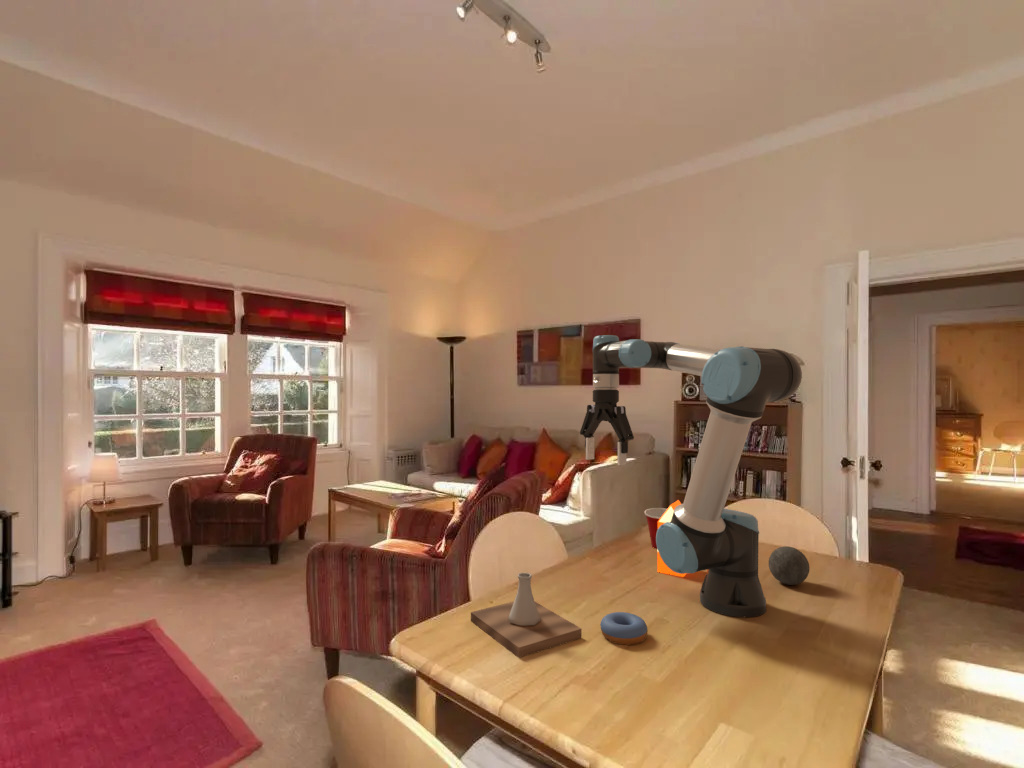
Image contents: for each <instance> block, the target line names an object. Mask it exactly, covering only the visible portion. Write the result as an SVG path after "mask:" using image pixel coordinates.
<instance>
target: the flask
mask: <svg viewBox="0 0 1024 768" xmlns="http://www.w3.org/2000/svg"><path fill="white" fill-rule="evenodd" d="M517 578H518V586H517V592H516V595H515V597H514V601H513V602H514V603H513V606H512V609H511V611H510V614H509V621H510V623H513V624H516V625H520V626H528V625H535V624H537V623H538V622H539V621H540V616H539V613H538V611H537V608H536V605H535V602H536V601H535V598H534V594H533V591H532V586H531V581H532V578H533V574H532V573H530V572H519V573H517Z"/></svg>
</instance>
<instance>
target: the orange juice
mask: <svg viewBox="0 0 1024 768" xmlns="http://www.w3.org/2000/svg"><path fill="white" fill-rule="evenodd" d="M680 504H682V503H681V501H680V500H679V499H677V500H676V501H675V502H673V503H671V504H670V505H669V506H668V508H666V509H667V510H666V511H665V513H664V514H663V515H662V517H661V518H660V519H659V521H658V528H659V527H660V526H661V525H662V524H664V523H666V522H671V519H672V516H673V512H674V509H675V507H676V506H678V505H680ZM656 550H657V551H656V552H657V558H656V559H657V565H656V566H657V571H656V572H657V573H659V572H660V573H659V574H664V575H665V574H666V575H669V574H670V575H671V576H676V577H679V578H680V577H681V578H684V577H685V576H686V575H687V574H688V573H684V574H680V573H676V572H674V571H672V570H671V569H670V568H669V567H668V566H667V565H666V564H665V563H664V562H663V560H662V558H661V557H660V554H659V551H658V549H656Z"/></svg>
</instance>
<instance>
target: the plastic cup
mask: <svg viewBox="0 0 1024 768" xmlns="http://www.w3.org/2000/svg"><path fill="white" fill-rule="evenodd" d="M667 509H668V508H664V507H652V508H647V509H645V510H644V516H645V517H646V520H647V526H648V532H649V538H650V544H651V546H652V547H651V548H653V547H654V549H655V548H656V550H657V544H656V533H657V530H658V521H659V519H660V518H661V517H662V515H663V514H664V513H665V511H666V510H667Z"/></svg>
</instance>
